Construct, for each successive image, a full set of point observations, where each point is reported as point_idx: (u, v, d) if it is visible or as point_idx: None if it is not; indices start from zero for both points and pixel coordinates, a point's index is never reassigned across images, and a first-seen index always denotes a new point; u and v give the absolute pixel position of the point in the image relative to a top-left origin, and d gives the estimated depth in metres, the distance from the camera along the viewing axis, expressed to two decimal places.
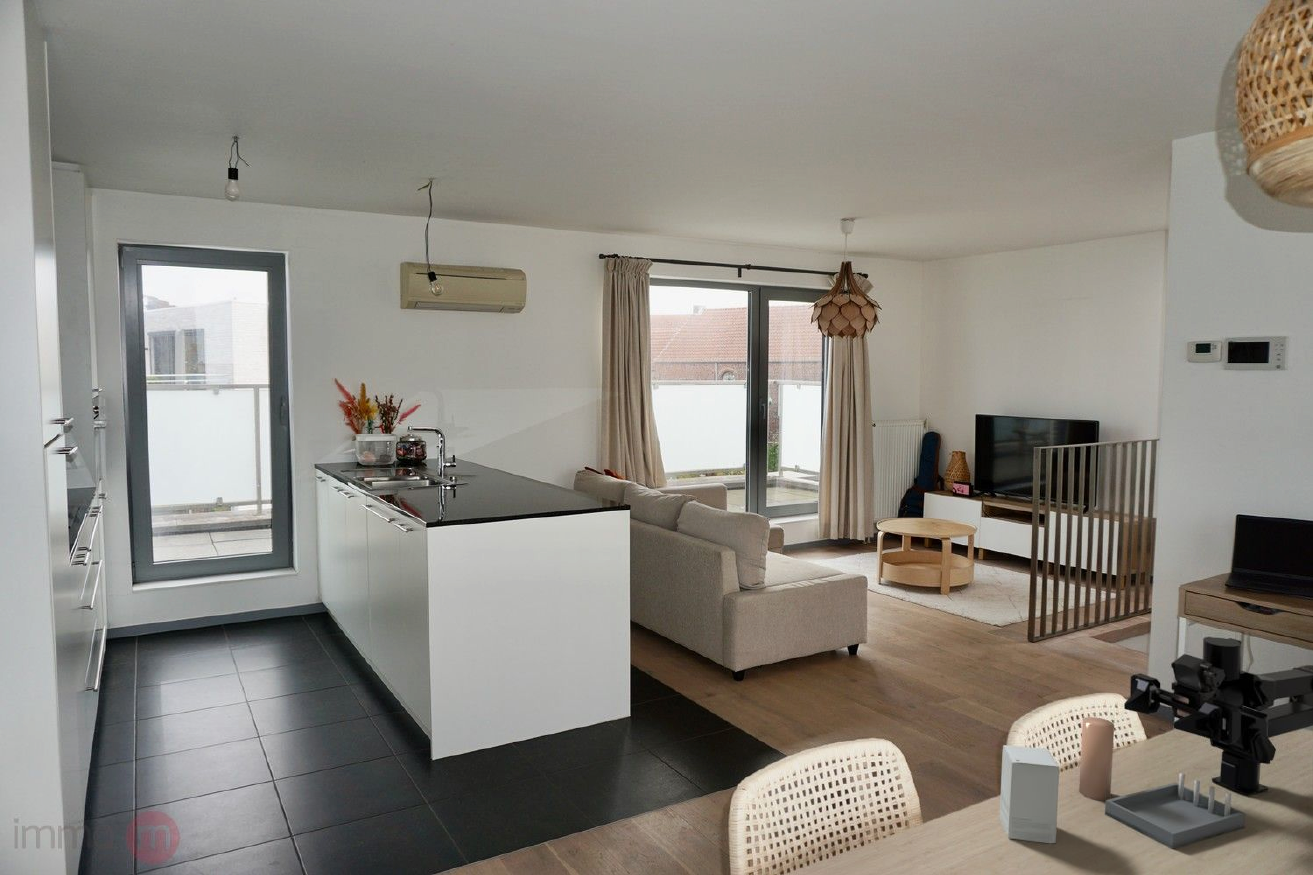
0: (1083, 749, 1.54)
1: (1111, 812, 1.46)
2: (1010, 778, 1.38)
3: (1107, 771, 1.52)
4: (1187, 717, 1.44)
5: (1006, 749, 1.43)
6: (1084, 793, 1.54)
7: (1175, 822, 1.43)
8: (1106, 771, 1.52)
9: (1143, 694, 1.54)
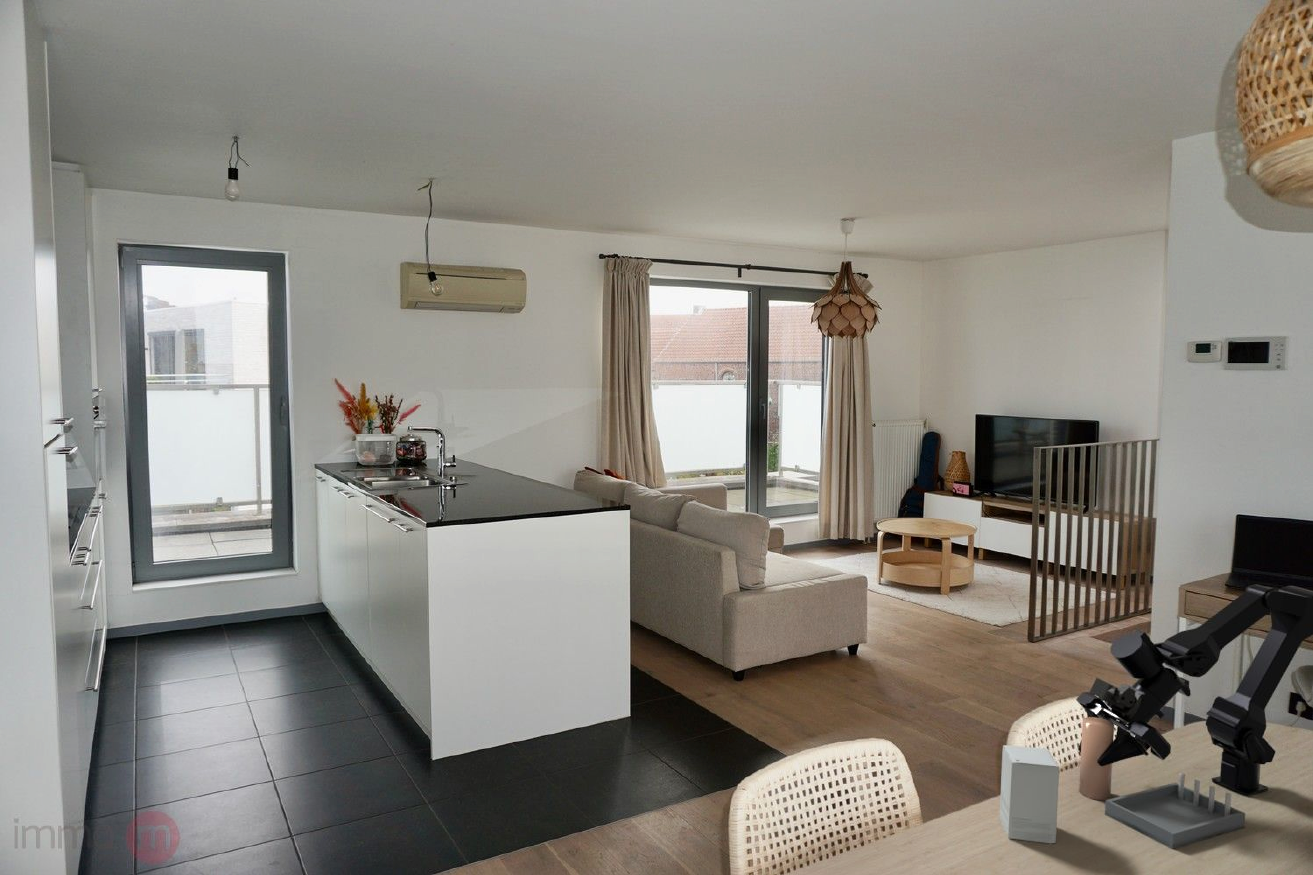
0: (1083, 749, 1.54)
1: (1111, 812, 1.46)
2: (1010, 778, 1.38)
3: (1107, 771, 1.52)
4: (1107, 750, 1.51)
5: (1006, 749, 1.43)
6: (1084, 793, 1.54)
7: (1175, 822, 1.43)
8: (1106, 771, 1.52)
9: None
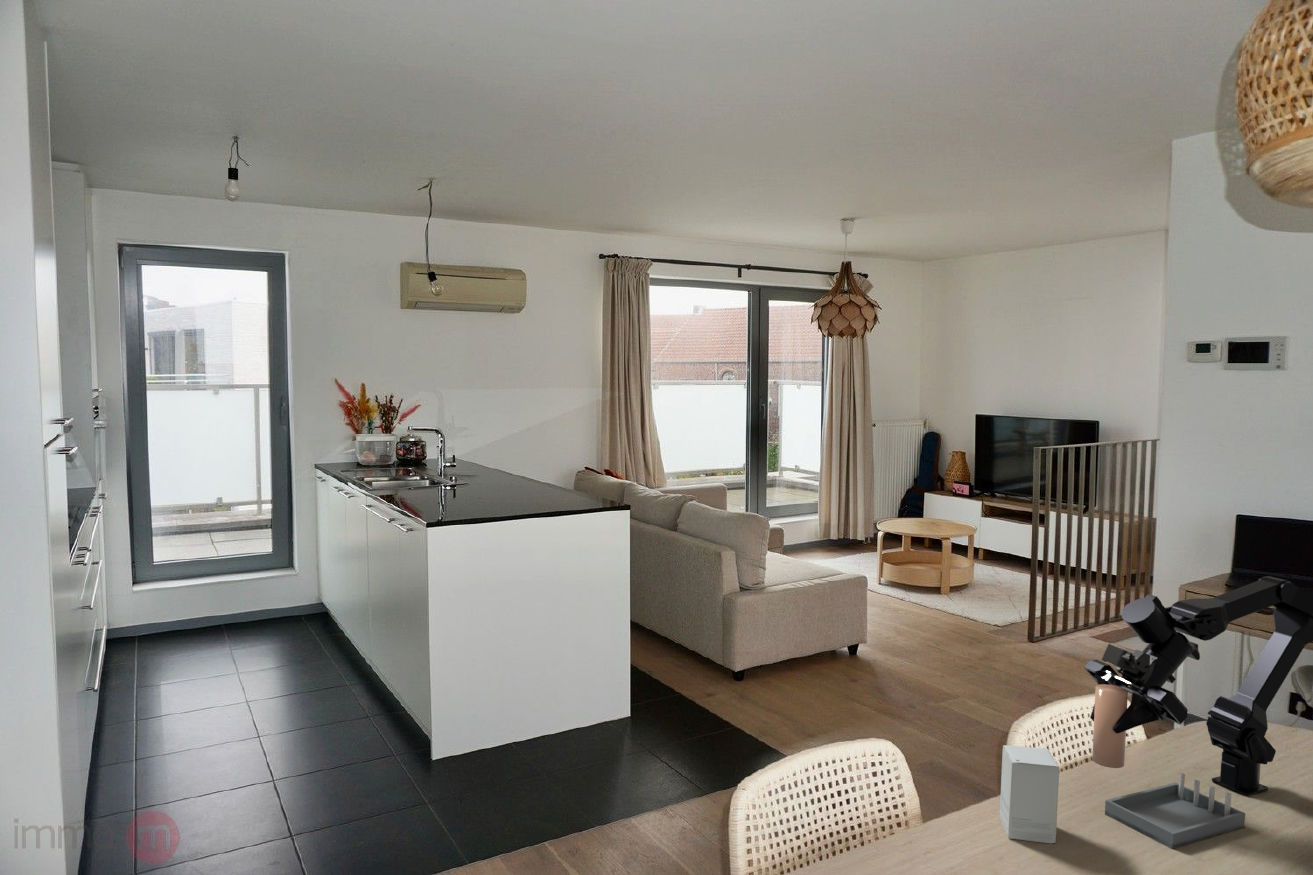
0: (1097, 717, 1.51)
1: (1111, 812, 1.46)
2: (1010, 778, 1.38)
3: (1122, 738, 1.49)
4: (1122, 717, 1.48)
5: (1006, 749, 1.43)
6: (1099, 762, 1.51)
7: (1175, 822, 1.43)
8: (1120, 738, 1.49)
9: None
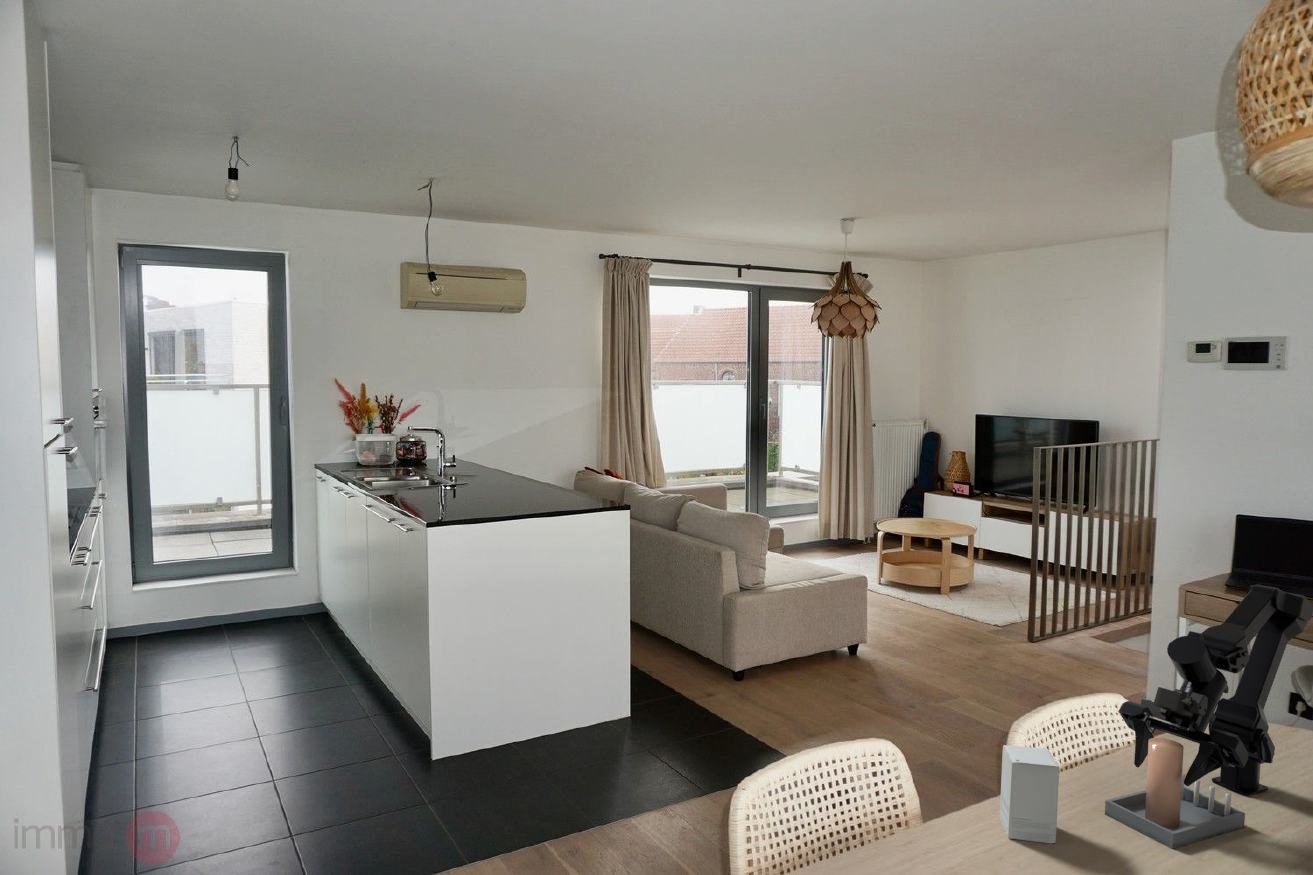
0: (1155, 775, 1.42)
1: (1111, 812, 1.46)
2: (1010, 778, 1.38)
3: (1180, 795, 1.42)
4: (1192, 768, 1.40)
5: (1006, 749, 1.43)
6: (1158, 823, 1.42)
7: None
8: (1179, 795, 1.42)
9: (1144, 737, 1.48)
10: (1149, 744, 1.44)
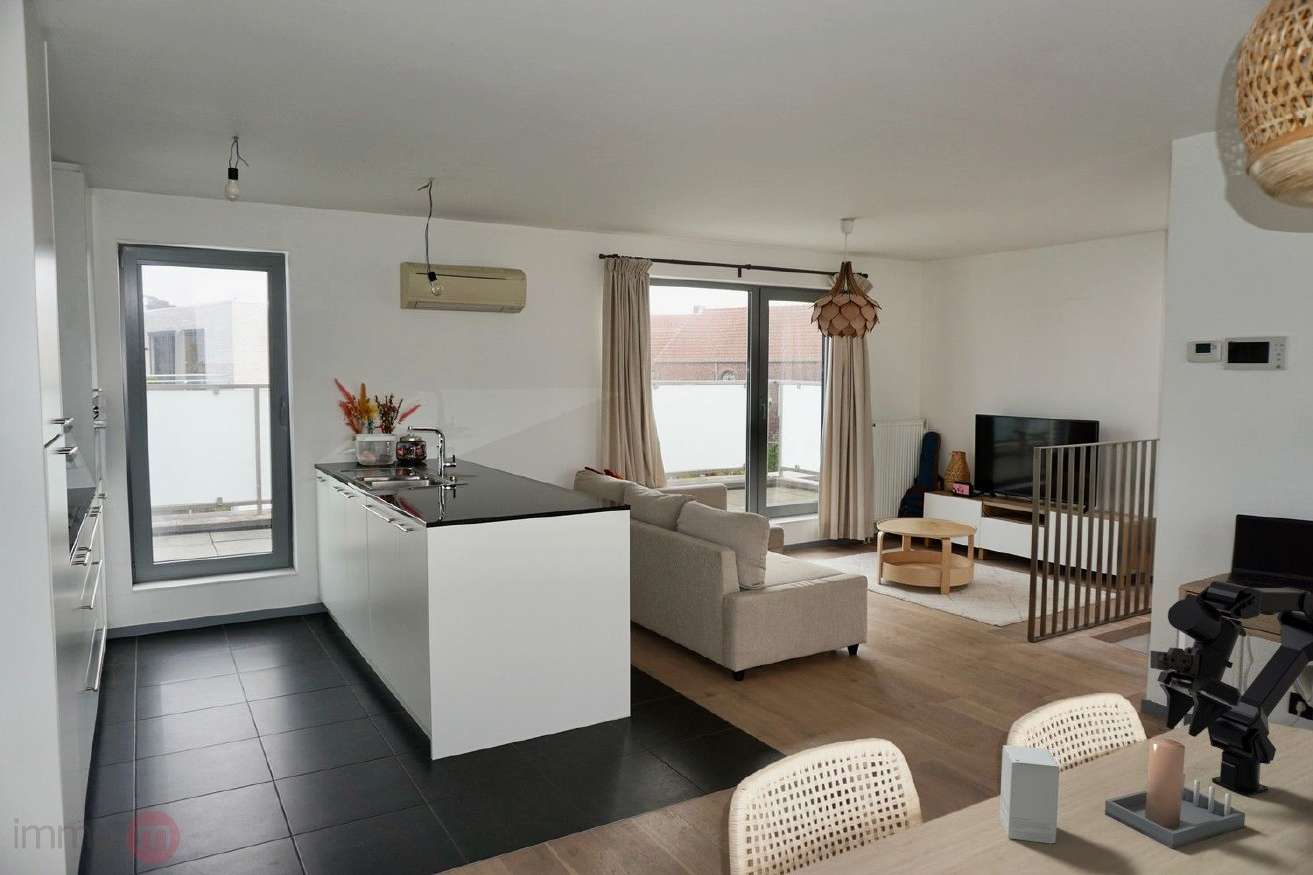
0: (1156, 775, 1.42)
1: (1111, 812, 1.46)
2: (1010, 778, 1.38)
3: (1181, 795, 1.42)
4: (1192, 718, 1.48)
5: (1006, 749, 1.43)
6: (1158, 823, 1.42)
7: None
8: (1180, 795, 1.42)
9: (1172, 699, 1.57)
10: (1150, 744, 1.44)
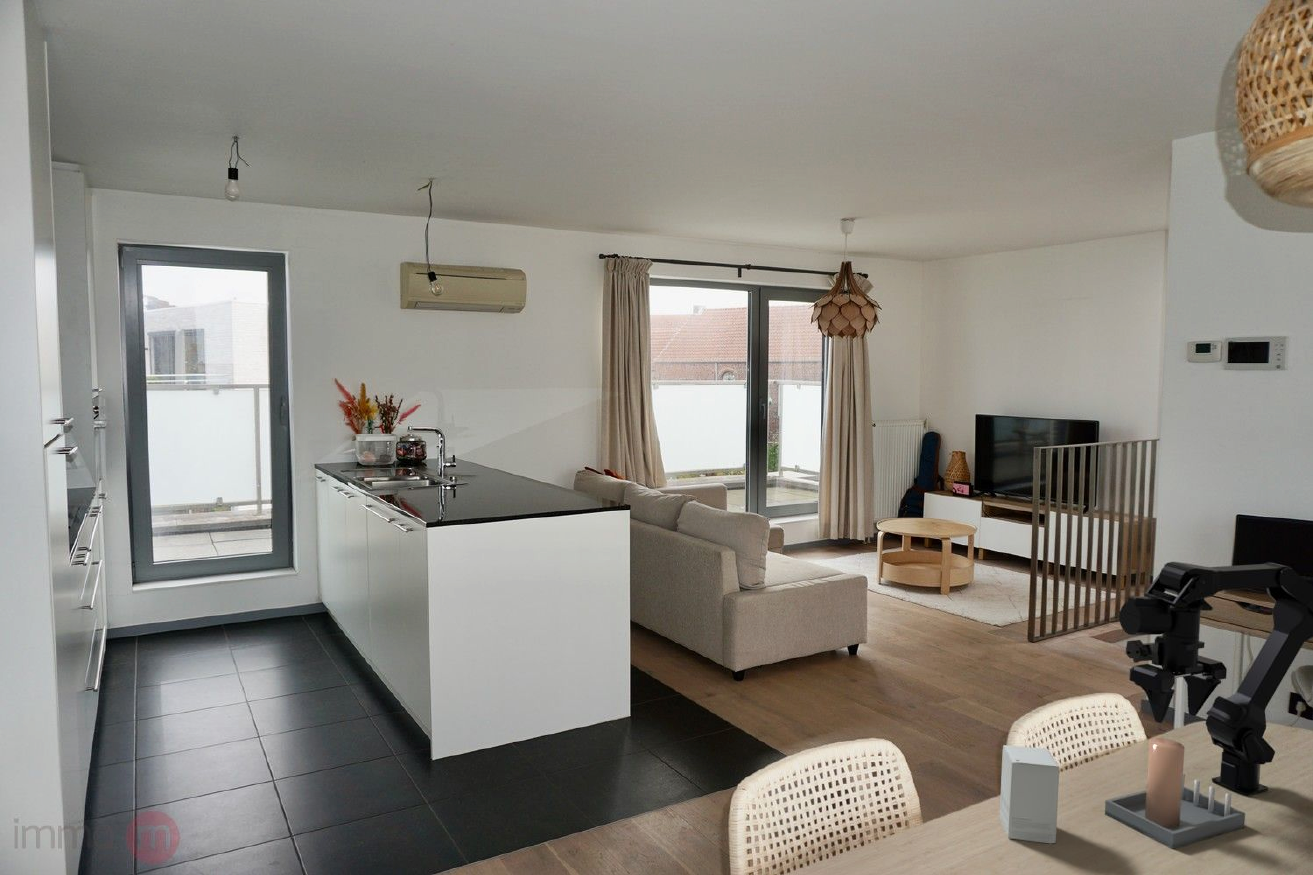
0: (1156, 775, 1.42)
1: (1111, 812, 1.46)
2: (1010, 778, 1.38)
3: (1181, 795, 1.42)
4: None
5: (1006, 749, 1.43)
6: (1158, 823, 1.42)
7: None
8: (1180, 795, 1.42)
9: (1189, 686, 1.59)
10: (1150, 744, 1.44)
